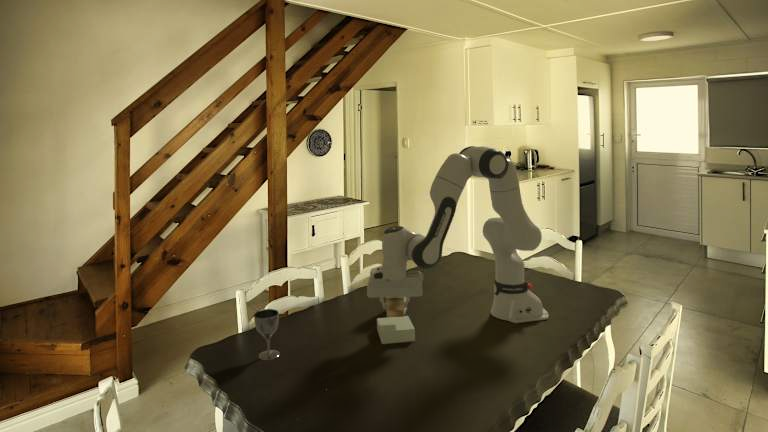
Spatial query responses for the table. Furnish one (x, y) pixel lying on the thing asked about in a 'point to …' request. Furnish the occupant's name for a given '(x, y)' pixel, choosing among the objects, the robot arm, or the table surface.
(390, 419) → the table surface
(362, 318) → the table surface
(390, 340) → the sage block
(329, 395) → the table surface
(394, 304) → the oak cube
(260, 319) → the wine glass
